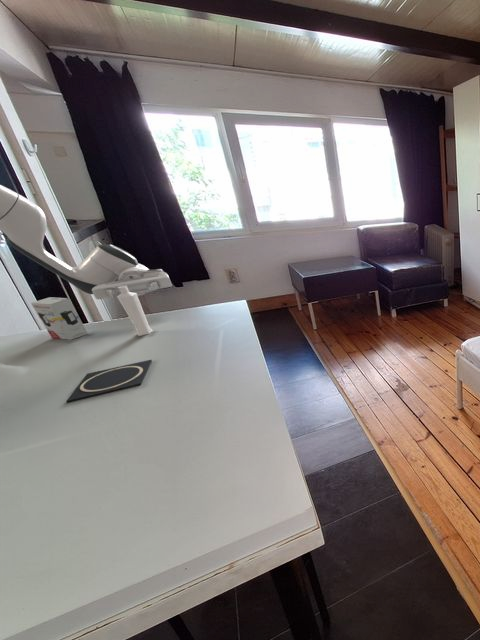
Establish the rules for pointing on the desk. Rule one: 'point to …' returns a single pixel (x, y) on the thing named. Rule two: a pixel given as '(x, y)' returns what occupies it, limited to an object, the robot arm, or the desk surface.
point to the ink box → (59, 318)
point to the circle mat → (110, 380)
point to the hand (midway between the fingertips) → (132, 291)
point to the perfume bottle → (134, 310)
